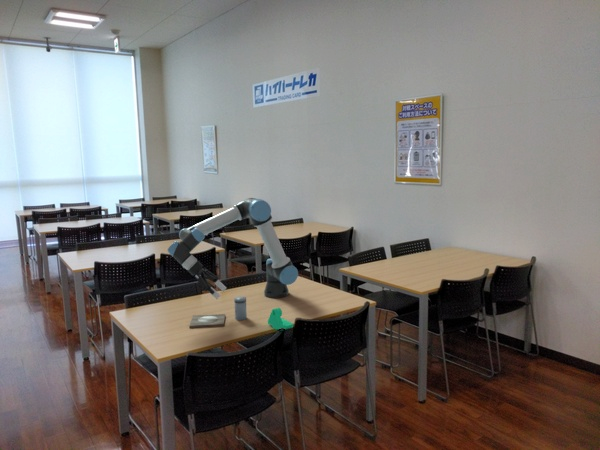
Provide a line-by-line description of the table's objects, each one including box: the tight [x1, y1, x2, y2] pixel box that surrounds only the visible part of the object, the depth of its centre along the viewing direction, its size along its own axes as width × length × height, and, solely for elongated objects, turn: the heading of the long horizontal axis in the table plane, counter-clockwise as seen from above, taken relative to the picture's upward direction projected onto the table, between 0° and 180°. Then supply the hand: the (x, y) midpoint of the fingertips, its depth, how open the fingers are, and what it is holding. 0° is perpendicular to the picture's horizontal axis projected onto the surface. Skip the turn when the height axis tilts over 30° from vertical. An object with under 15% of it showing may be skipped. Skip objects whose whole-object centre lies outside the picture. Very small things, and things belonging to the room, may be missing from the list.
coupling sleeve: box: [234, 296, 248, 321], centre depth 242 cm, size 6×6×11 cm
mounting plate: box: [188, 313, 226, 329], centre depth 238 cm, size 15×17×1 cm
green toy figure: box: [267, 307, 294, 331], centre depth 229 cm, size 12×8×10 cm, turn 36°
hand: (222, 293), depth 241 cm, fingers open, 13 cm apart
